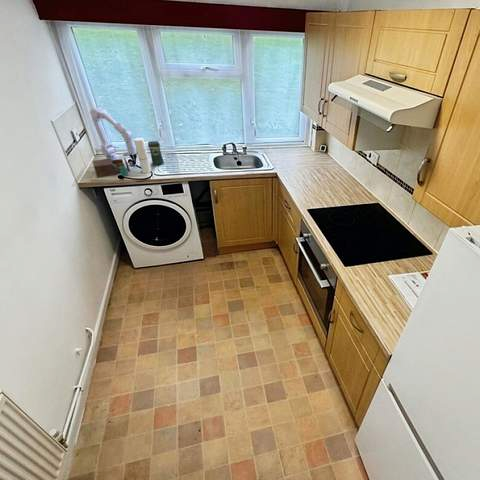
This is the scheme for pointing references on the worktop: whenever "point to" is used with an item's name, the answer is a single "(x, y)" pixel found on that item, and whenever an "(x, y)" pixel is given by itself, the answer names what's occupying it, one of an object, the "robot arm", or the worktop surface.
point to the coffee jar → (155, 152)
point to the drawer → (121, 164)
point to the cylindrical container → (142, 155)
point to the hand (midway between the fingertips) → (135, 163)
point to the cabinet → (104, 167)
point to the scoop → (122, 170)
